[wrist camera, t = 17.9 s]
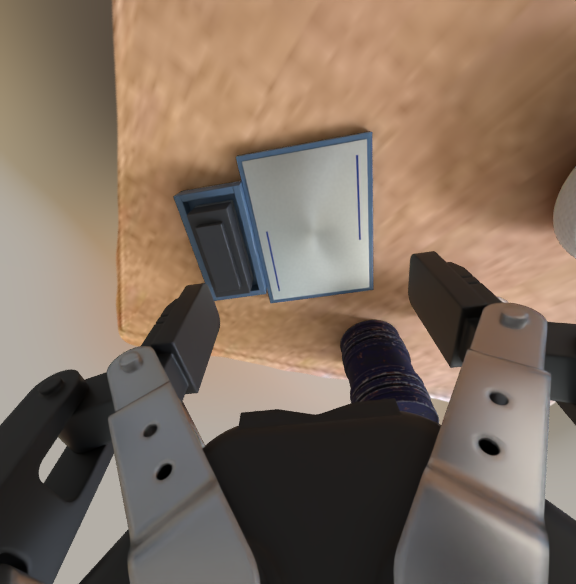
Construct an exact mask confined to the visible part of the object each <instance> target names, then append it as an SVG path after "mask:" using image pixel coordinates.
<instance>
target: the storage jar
mask: <svg viewBox="0 0 576 584" xmlns="http://www.w3.org/2000/svg"><path fill="white" fill-rule="evenodd" d="M340 347H341V352H342V361H343V365H344V370H345V373H346V376H347V378H348V379H349V383H350V387H351V390H350V400H351V403H354V402H360V401H370V400H381V399H391V398H395V399H396V402H397V405H398V407H399V410H400V411H404V412H409V413H413V414H417V415H420V416H423V417H425V418H428V419H430V420H432V421H434V422H436V423H438V424H439V417H438V415H437V413H436V410H435V409H434V407H433V405H432V402H431V399H430V396H429V394H428V392H427V390H426V388H425V387H424V383H423V381H422V380H421V378H420V377H419V376H418V374H417V373H415V371H414V369H413V367H412V365H411V359H410V356H409V352H408V350H407V349H406V347H405V345H404V343H403V341H402V340H401V338H400V336H399V334H398V332H397V330H396V329H395V328H394V327H393V326H392V325H390V324H389V323H387V322H384V321H379V320H368V321H363V322H360V323H358V324H356V325H354V326H352V327H351V328H349V329H348V330H347V331H346V332H345V334H344V335H343V337H342V339H341V343H340Z"/></svg>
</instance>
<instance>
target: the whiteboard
mask: <svg viewBox="0 0 576 584" xmlns="http://www.w3.org/2000/svg"><path fill="white" fill-rule="evenodd" d="M236 160H237V164H238V169H239V173H240V177H241V181H242V185H243V190H244V194H245V198H246V202H247V206H248V211H249V215H250V219H251V223H252V227H253V232H254V236H255V240H256V244H257V248H258V253H259V257H260V261H261V265H262V269H263V274H264V278H265V282H266V286H267V290H268V295H269V299H270V303H277V302H285V301H292V300H300V299H308V298H315V297H323V296H330V295H338V294H346V293H353V292H361V291H368V290H373V175H372V132H370V131H369V132H363V133H358V134H353V135H347V136H342V137H336V138H331V139H325V140H320V141H314V142H309V143H304V144H298V145H293V146H287V147H282V148H276V149H271V150H265V151H260V152H255V153H249V154H244V155H238V156H236Z"/></svg>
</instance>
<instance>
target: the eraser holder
mask: <svg viewBox="0 0 576 584" xmlns="http://www.w3.org/2000/svg"><path fill="white" fill-rule="evenodd" d="M173 197H174V200H175V202H176V205H177V208H178V211H179V213H180V216H181V219H182V221H183V224H184V227H185V230H186V232H187V235H188V238H189V240H190V243H191V246H192V249H193V251H194V254H195V257H196V259H197V262H198V265H199V268H200V270H201V273H202V276H203V279H204V281H205V283H206V284H207V285H208V287H209V289H210V291H211V294H212V297H213V300H214V301H217V300H224V299H232V298H239V297H247V296H254V295H260V294H261V295H262V294H266V289H267V286H266V282H265V278H264V274H263V269H262V265H261V261H260V257H259V253H258V248H257V244H256V240H255V236H254V232H253V227H252V223H251V219H250V215H249V211H248V206H247V202H246V198H245V194H244V190H243V185H242V181H237V182H231V183H225V184H219V185H214V186H208V187H202V188H197V189H191V190H185V191H181V192H179V193H178V194H176V195H175V196H173ZM226 200H233V202H234V206H235V210H236V214H237V217H238V221H239V225H240V229H241V232H242V236H243V240H244V244H245V248H246V251H247V255H248V259H249V263H250V266H251V270H252V274H253V278H254V279H253V283H252V287H251V291H250V293H246V294H239V295H232V296H224V297H217V298H216V296H215V293H214V290H213V288H212V285H211V282H210V279H209V276H208V274H207V271H206V268H205V265H204V263H203V260H202V257H201V254H200V251H199V249H198V246H197V243H196V240H195V237H194V235H193V232H192V229H191V226H190V223H189V221H188V218H187V214H188V213H190V212H191V211H192V210H193V209H194V208H195V207H196V206H197V205H203V204H209V203H215V202H221V201H226Z"/></svg>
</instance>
